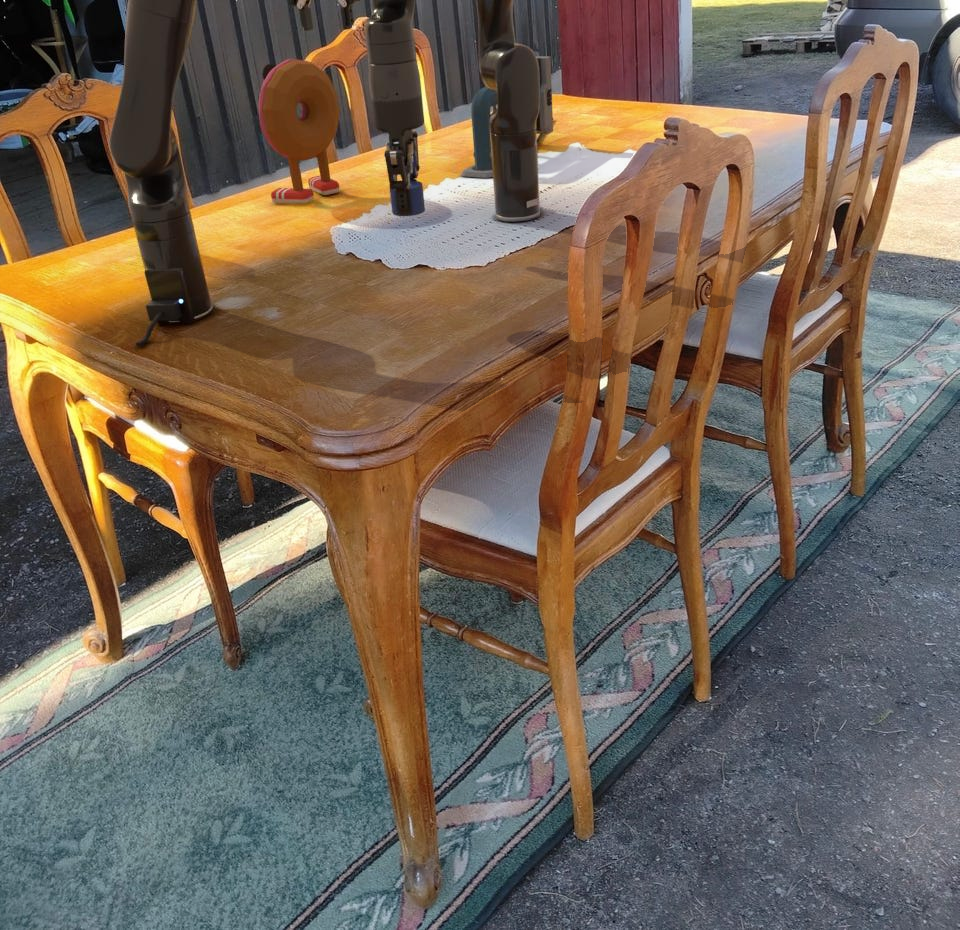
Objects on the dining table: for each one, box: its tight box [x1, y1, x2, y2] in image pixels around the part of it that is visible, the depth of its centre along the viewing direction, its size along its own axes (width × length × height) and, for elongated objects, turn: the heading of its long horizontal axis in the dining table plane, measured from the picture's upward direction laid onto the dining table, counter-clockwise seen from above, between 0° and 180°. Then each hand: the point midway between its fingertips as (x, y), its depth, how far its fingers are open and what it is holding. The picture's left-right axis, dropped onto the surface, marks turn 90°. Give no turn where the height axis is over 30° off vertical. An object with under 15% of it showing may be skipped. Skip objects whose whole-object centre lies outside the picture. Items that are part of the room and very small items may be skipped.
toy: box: [257, 58, 341, 205], centre depth 218 cm, size 21×10×30 cm, turn 141°
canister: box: [388, 180, 426, 217], centre depth 150 cm, size 5×5×4 cm
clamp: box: [460, 55, 554, 179], centre depth 237 cm, size 35×9×21 cm, turn 151°
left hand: (408, 208), depth 150 cm, fingers closed on canister, 5 cm apart
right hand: (328, 29), depth 182 cm, fingers open, 8 cm apart
